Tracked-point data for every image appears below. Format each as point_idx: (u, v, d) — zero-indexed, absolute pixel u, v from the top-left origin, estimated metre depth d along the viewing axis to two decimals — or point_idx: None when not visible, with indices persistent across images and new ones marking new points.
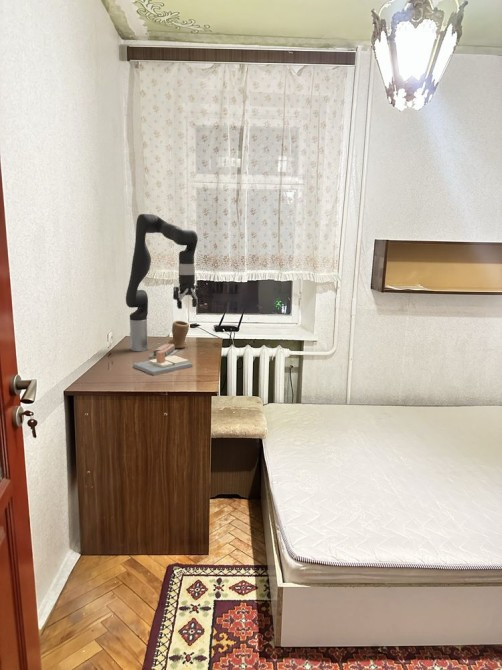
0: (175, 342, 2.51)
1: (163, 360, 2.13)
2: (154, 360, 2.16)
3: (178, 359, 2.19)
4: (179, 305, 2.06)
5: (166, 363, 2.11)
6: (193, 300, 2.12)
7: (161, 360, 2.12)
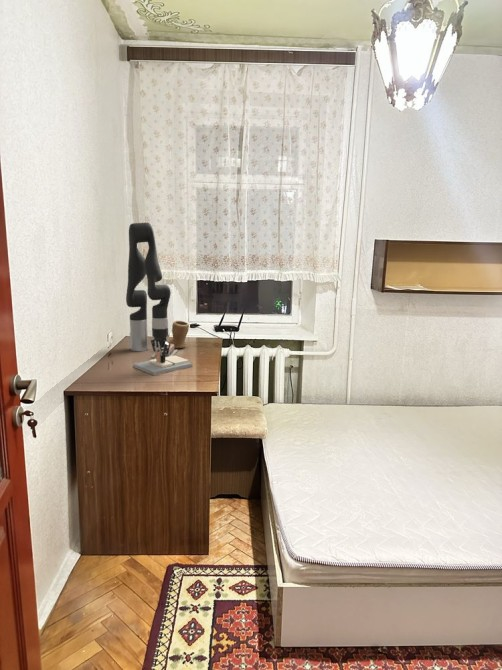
0: (175, 342, 2.51)
1: None
2: (154, 360, 2.16)
3: (178, 359, 2.19)
4: (164, 359, 2.12)
5: (166, 363, 2.11)
6: None
7: None
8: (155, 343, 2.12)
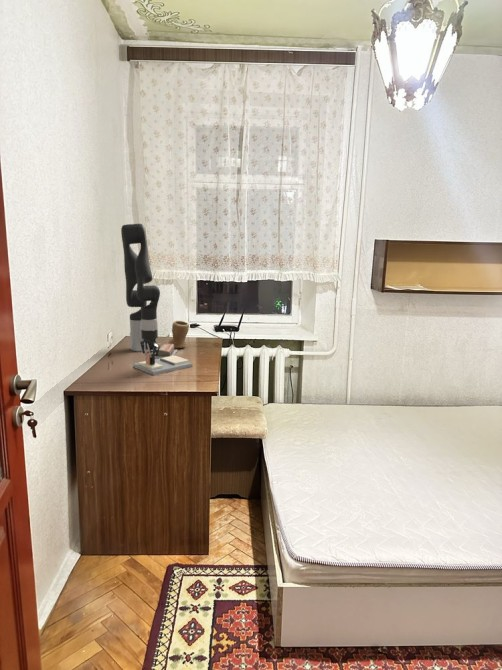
0: (175, 342, 2.51)
1: None
2: (143, 362, 2.12)
3: (178, 359, 2.19)
4: None
5: (155, 365, 2.07)
6: None
7: None
8: (144, 345, 2.08)
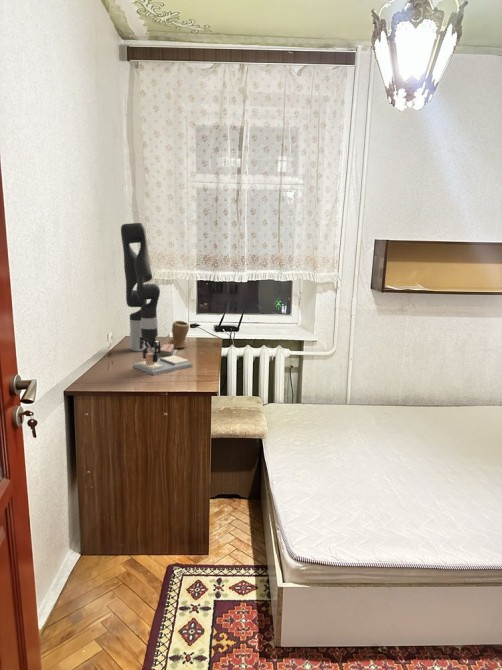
0: (175, 342, 2.51)
1: (152, 362, 2.09)
2: (143, 362, 2.12)
3: (178, 359, 2.19)
4: None
5: (155, 365, 2.07)
6: (145, 352, 2.12)
7: (150, 362, 2.08)
8: (144, 343, 2.08)
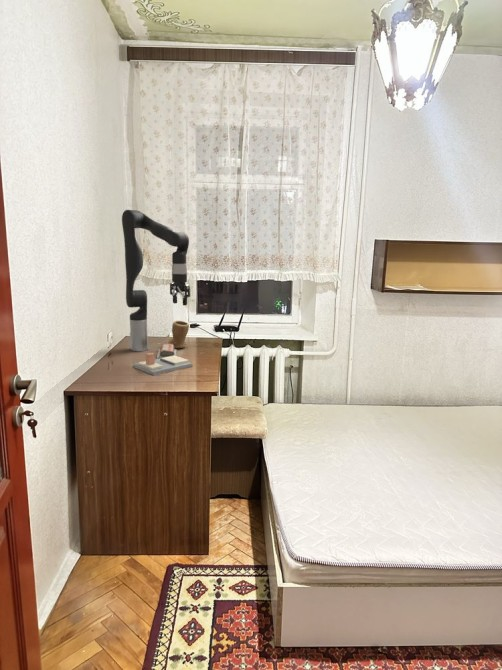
0: (175, 342, 2.51)
1: (152, 362, 2.09)
2: (143, 362, 2.12)
3: (178, 359, 2.19)
4: (186, 302, 2.24)
5: (155, 365, 2.07)
6: (175, 297, 2.29)
7: (150, 362, 2.08)
8: (174, 288, 2.26)
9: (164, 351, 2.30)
